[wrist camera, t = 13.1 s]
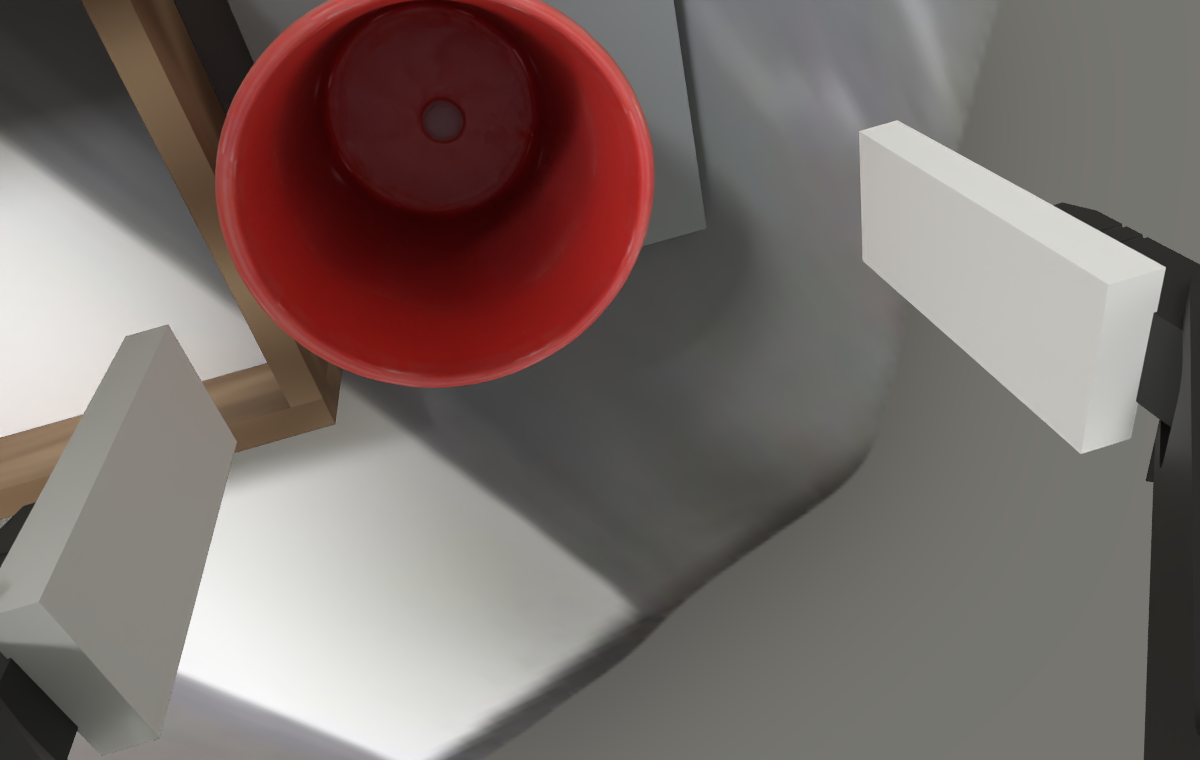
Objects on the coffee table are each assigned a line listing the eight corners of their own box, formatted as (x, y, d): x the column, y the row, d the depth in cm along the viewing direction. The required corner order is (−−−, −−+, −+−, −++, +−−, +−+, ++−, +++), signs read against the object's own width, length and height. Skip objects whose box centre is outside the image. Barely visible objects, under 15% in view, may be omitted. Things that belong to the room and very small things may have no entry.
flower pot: (620, 205, 32) (691, 323, 24) (345, 290, 32) (324, 438, 24) (546, -104, 26) (608, -86, 18) (208, -5, 26) (117, 59, 18)
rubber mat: (202, -76, 26) (196, -74, 25) (638, -187, 26) (646, -188, 26) (365, 312, 34) (364, 323, 33) (699, 219, 34) (706, 228, 33)
